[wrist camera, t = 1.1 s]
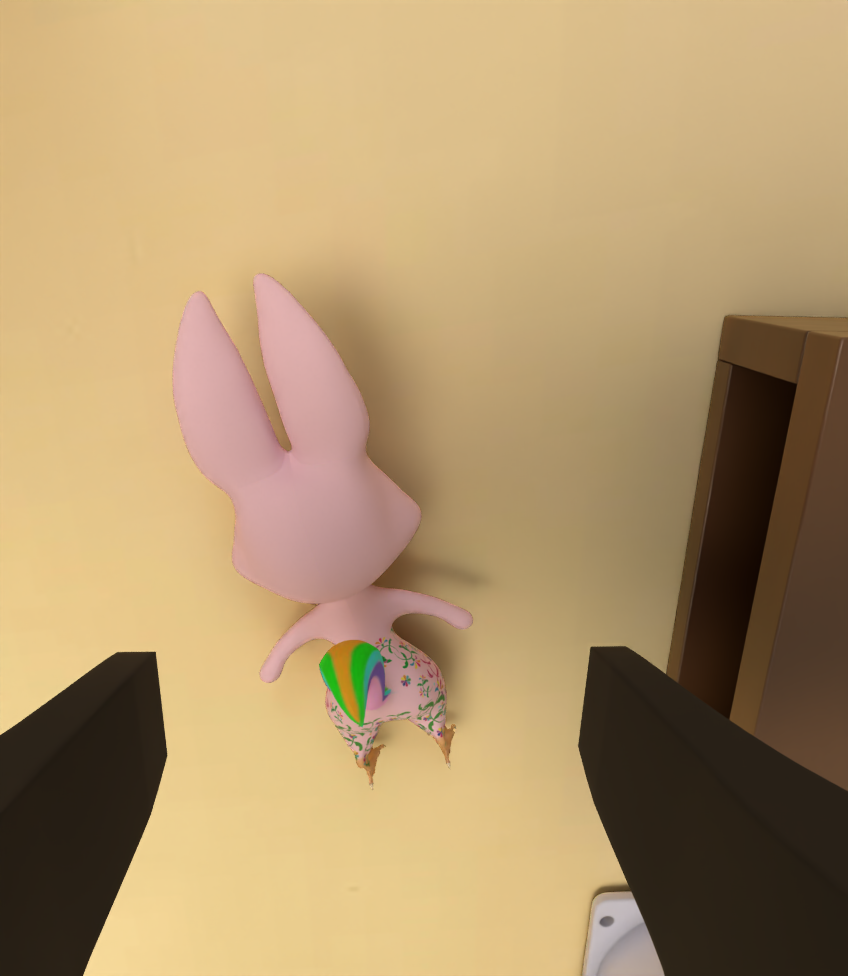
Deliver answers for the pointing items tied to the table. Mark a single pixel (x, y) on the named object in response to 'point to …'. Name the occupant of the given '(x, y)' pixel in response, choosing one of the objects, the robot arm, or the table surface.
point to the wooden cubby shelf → (773, 542)
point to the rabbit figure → (312, 512)
